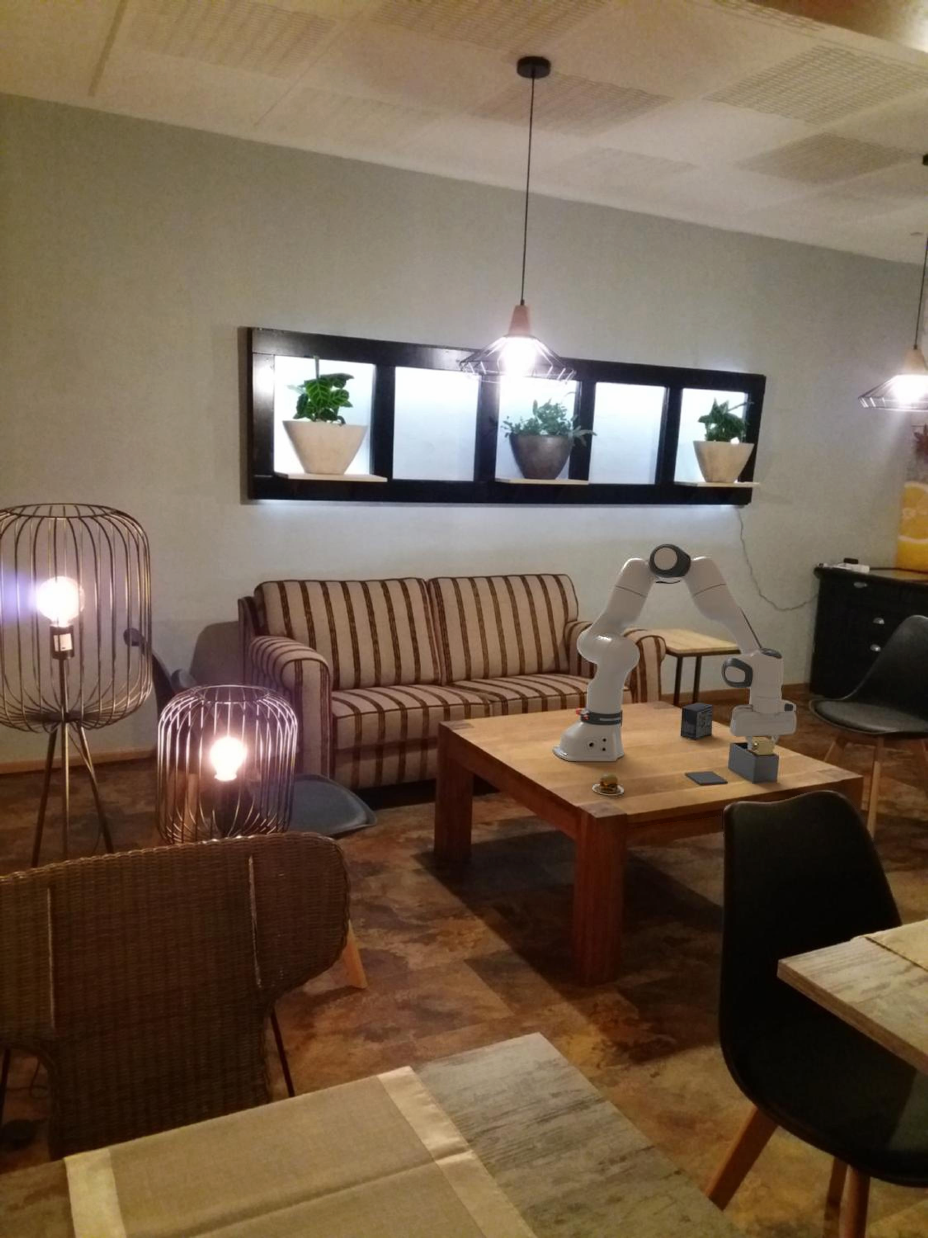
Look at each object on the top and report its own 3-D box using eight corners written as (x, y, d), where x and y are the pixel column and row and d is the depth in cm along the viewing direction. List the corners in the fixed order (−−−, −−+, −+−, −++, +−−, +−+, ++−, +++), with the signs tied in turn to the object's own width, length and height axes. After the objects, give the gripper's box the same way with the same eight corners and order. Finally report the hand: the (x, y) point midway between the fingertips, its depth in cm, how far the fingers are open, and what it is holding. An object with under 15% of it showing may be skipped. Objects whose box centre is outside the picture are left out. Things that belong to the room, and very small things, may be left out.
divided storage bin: (752, 783, 278) (755, 757, 277) (727, 767, 292) (730, 742, 290) (776, 781, 280) (779, 755, 279) (751, 766, 294) (753, 741, 292)
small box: (695, 730, 331) (698, 701, 329) (712, 734, 326) (714, 705, 324) (679, 736, 323) (681, 706, 321) (695, 740, 319) (697, 710, 317)
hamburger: (600, 782, 277) (601, 764, 276) (637, 792, 270) (638, 774, 269) (578, 793, 268) (579, 774, 267) (615, 803, 260) (616, 784, 260)
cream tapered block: (756, 769, 279) (759, 742, 277) (747, 763, 284) (749, 737, 282) (771, 768, 280) (774, 742, 279) (762, 762, 285) (764, 737, 284)
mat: (699, 785, 275) (699, 783, 275) (684, 774, 284) (685, 773, 284) (727, 783, 278) (727, 781, 278) (711, 773, 286) (711, 771, 286)
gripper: (739, 708, 273) (735, 754, 275) (801, 705, 278) (796, 750, 281) (727, 702, 279) (724, 747, 281) (788, 699, 284) (784, 744, 287)
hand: (760, 749), depth 281 cm, fingers closed on cream tapered block, 5 cm apart
